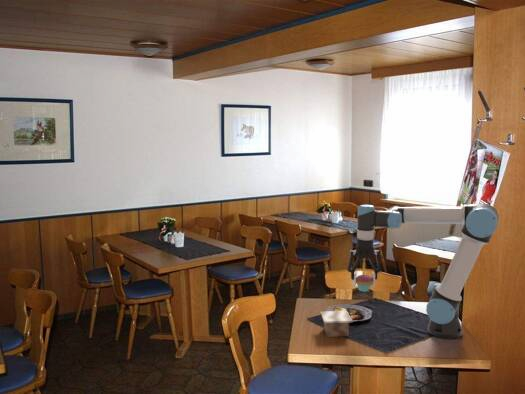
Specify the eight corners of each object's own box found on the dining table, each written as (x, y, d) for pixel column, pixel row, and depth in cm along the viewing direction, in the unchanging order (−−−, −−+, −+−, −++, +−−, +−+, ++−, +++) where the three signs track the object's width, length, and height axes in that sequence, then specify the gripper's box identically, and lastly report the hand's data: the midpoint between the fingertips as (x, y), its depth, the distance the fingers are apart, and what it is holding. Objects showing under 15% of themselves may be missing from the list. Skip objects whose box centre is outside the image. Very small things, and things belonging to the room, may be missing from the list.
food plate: (369, 326, 251) (369, 319, 251) (321, 323, 257) (321, 316, 257) (373, 310, 275) (373, 304, 275) (329, 307, 281) (329, 301, 281)
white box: (347, 326, 252) (347, 310, 251) (352, 337, 239) (352, 320, 238) (320, 327, 251) (320, 311, 250) (324, 338, 238) (324, 321, 237)
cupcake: (352, 287, 247) (353, 262, 245) (370, 286, 248) (370, 262, 246) (357, 293, 239) (358, 267, 237) (375, 292, 239) (376, 267, 238)
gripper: (385, 236, 244) (384, 283, 247) (341, 236, 243) (340, 283, 246) (390, 240, 236) (388, 288, 239) (343, 240, 236) (342, 288, 239)
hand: (363, 286), depth 243 cm, fingers closed on cupcake, 8 cm apart
